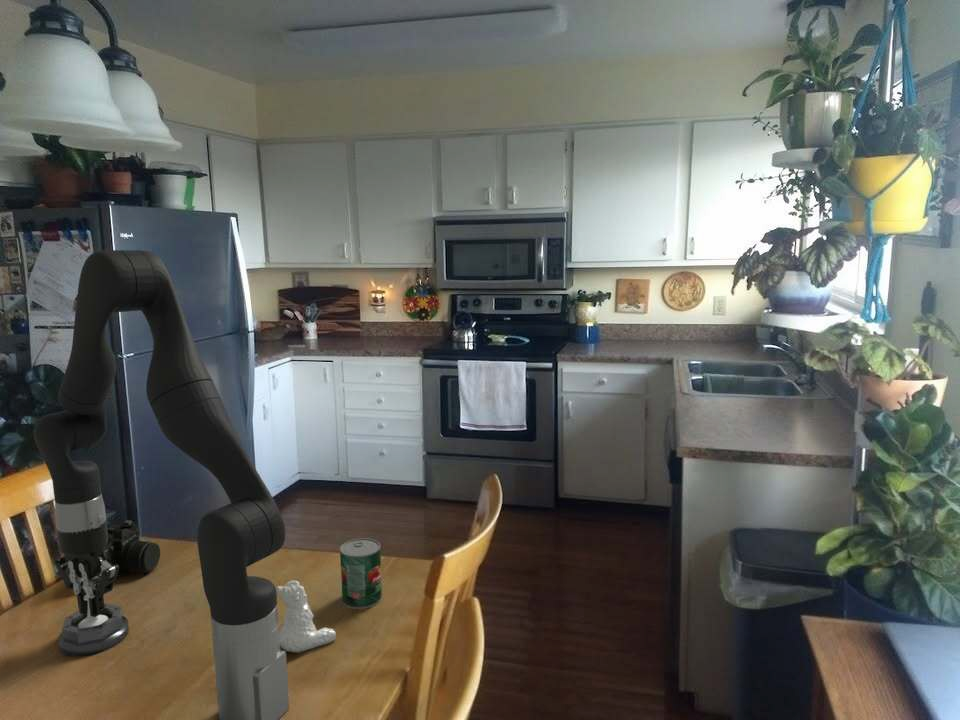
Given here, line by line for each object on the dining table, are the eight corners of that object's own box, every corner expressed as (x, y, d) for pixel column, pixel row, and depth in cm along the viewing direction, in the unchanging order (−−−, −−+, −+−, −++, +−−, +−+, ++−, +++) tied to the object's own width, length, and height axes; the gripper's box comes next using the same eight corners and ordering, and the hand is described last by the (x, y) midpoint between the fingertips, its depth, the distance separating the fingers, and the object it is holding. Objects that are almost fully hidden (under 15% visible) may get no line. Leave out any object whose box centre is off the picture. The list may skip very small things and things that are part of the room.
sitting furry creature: (339, 639, 121) (336, 577, 119) (302, 664, 114) (298, 599, 112) (301, 624, 127) (298, 563, 124) (264, 647, 119) (260, 583, 117)
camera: (128, 591, 139) (124, 546, 137) (82, 587, 141) (77, 542, 139) (170, 560, 152) (166, 518, 151) (127, 557, 154) (123, 515, 152)
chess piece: (102, 615, 125) (96, 564, 124) (114, 624, 122) (108, 572, 121) (73, 627, 122) (67, 575, 120) (84, 636, 119) (78, 583, 117)
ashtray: (142, 627, 125) (140, 607, 125) (89, 662, 115) (87, 640, 115) (99, 616, 129) (97, 597, 129) (44, 648, 119) (41, 627, 119)
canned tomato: (386, 604, 133) (384, 551, 131) (346, 612, 130) (343, 558, 128) (377, 585, 140) (375, 535, 138) (338, 593, 137) (336, 542, 136)
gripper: (33, 524, 118) (45, 616, 121) (91, 536, 113) (102, 631, 116) (72, 508, 124) (83, 596, 127) (129, 519, 119) (138, 609, 122)
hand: (92, 612), depth 122 cm, fingers closed on chess piece
